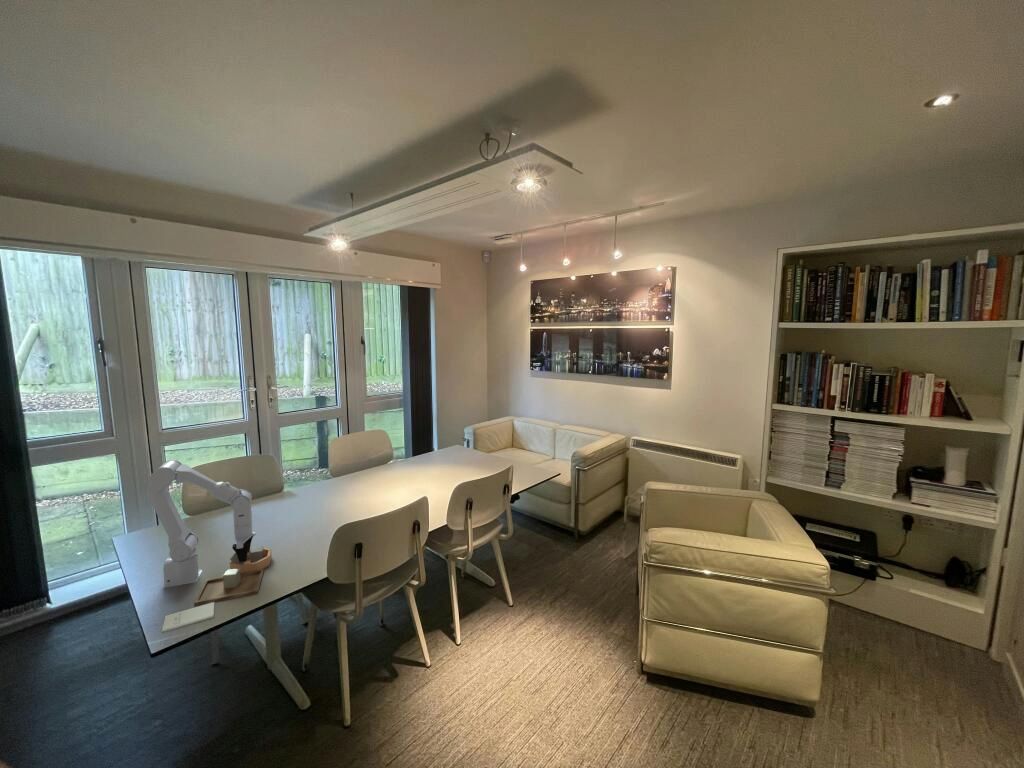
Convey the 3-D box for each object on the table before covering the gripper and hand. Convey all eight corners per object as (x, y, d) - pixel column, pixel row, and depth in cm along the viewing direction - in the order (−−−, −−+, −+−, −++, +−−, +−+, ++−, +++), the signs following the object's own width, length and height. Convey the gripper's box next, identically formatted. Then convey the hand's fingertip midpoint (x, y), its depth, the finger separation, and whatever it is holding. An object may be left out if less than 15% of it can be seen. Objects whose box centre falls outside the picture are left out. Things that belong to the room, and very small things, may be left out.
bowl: (228, 578, 148) (227, 568, 148) (235, 560, 160) (235, 550, 159) (268, 571, 153) (268, 561, 153) (272, 554, 165) (272, 545, 165)
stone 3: (250, 564, 156) (250, 552, 156) (252, 560, 159) (251, 548, 159) (262, 562, 158) (262, 550, 157) (263, 558, 161) (263, 546, 160)
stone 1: (242, 565, 152) (229, 559, 150) (242, 562, 155) (230, 556, 153) (250, 555, 154) (237, 550, 152) (250, 552, 157) (237, 546, 155)
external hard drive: (213, 620, 127) (162, 635, 120) (214, 605, 134) (165, 619, 127) (213, 615, 127) (161, 630, 120) (214, 601, 134) (165, 614, 127)
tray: (194, 606, 133) (193, 602, 132) (205, 583, 145) (205, 579, 145) (257, 594, 140) (257, 590, 140) (263, 572, 152) (263, 569, 152)
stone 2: (223, 588, 142) (222, 575, 141) (228, 582, 145) (227, 569, 144) (236, 587, 142) (235, 574, 142) (240, 581, 146) (240, 568, 145)
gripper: (251, 530, 147) (253, 565, 149) (258, 513, 161) (259, 546, 162) (228, 533, 144) (230, 568, 146) (237, 516, 158) (238, 549, 159)
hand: (244, 557), depth 154 cm, fingers open, 5 cm apart
